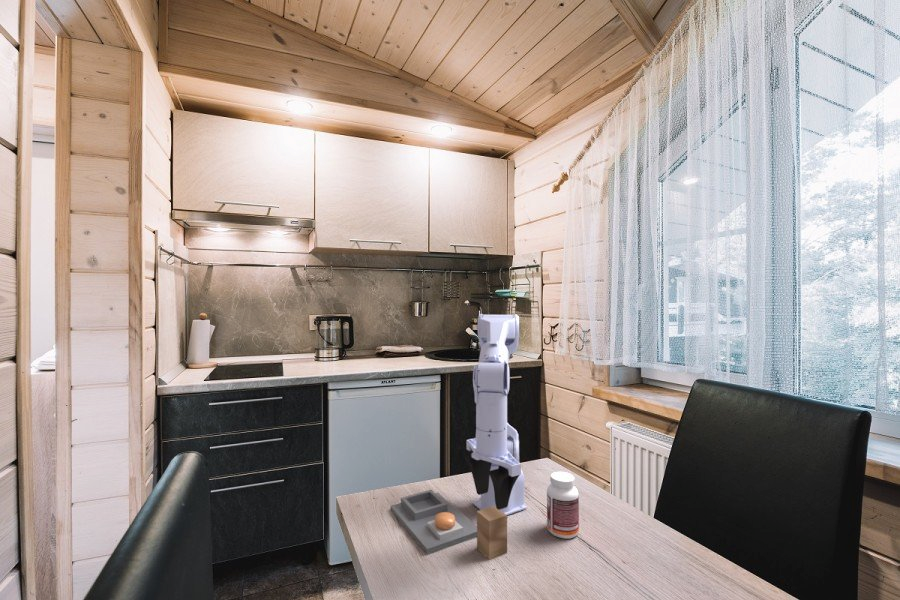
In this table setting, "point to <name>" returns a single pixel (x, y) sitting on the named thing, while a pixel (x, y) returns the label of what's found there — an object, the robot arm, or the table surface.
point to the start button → (444, 520)
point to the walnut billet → (492, 532)
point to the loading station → (432, 521)
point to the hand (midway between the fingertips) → (491, 500)
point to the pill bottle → (562, 506)
